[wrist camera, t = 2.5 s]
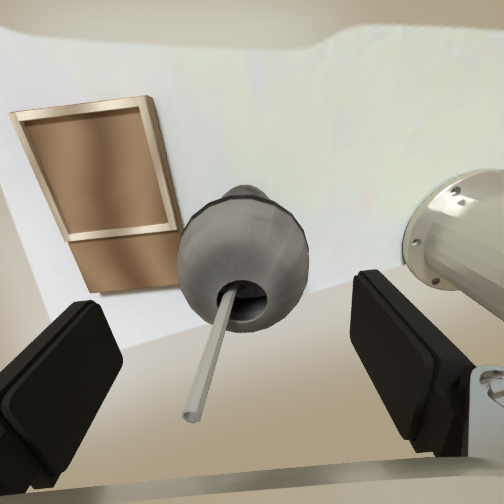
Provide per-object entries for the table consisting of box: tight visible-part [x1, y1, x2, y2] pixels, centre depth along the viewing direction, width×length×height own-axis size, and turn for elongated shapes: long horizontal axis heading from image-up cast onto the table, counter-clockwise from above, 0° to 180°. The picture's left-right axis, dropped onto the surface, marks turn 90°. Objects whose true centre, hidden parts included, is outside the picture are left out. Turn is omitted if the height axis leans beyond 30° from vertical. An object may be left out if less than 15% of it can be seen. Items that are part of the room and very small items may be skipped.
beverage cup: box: [176, 185, 309, 423], centre depth 15 cm, size 7×7×20 cm
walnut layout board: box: [8, 95, 183, 293], centre depth 23 cm, size 11×17×2 cm, turn 6°
